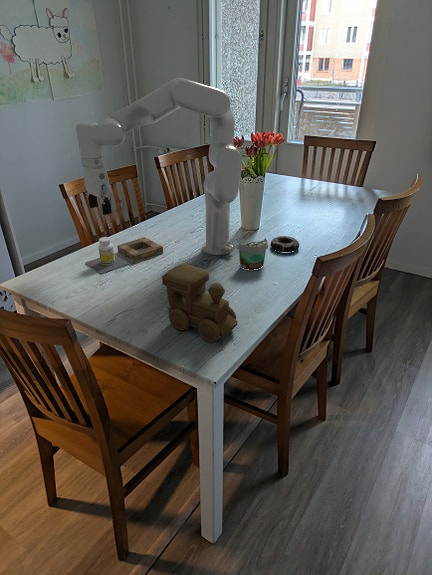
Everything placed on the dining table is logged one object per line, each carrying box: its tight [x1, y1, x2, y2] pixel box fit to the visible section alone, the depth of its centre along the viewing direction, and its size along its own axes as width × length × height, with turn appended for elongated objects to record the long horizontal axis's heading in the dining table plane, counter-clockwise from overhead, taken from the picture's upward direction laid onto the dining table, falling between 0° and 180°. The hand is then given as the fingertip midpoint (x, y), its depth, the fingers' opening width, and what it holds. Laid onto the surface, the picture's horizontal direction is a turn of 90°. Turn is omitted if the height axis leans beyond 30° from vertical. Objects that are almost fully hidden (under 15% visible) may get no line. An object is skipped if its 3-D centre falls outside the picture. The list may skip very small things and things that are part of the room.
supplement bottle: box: [98, 236, 115, 266], centre depth 155 cm, size 5×5×10 cm
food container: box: [237, 238, 269, 270], centre depth 153 cm, size 12×6×10 cm, turn 118°
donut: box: [270, 235, 300, 253], centre depth 170 cm, size 12×12×4 cm
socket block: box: [116, 237, 164, 264], centre depth 166 cm, size 13×13×3 cm
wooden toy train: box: [161, 263, 238, 343], centre depth 118 cm, size 20×11×17 cm, turn 57°
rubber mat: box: [85, 253, 130, 275], centre depth 158 cm, size 12×12×1 cm
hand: (100, 210), depth 148 cm, fingers open, 9 cm apart
